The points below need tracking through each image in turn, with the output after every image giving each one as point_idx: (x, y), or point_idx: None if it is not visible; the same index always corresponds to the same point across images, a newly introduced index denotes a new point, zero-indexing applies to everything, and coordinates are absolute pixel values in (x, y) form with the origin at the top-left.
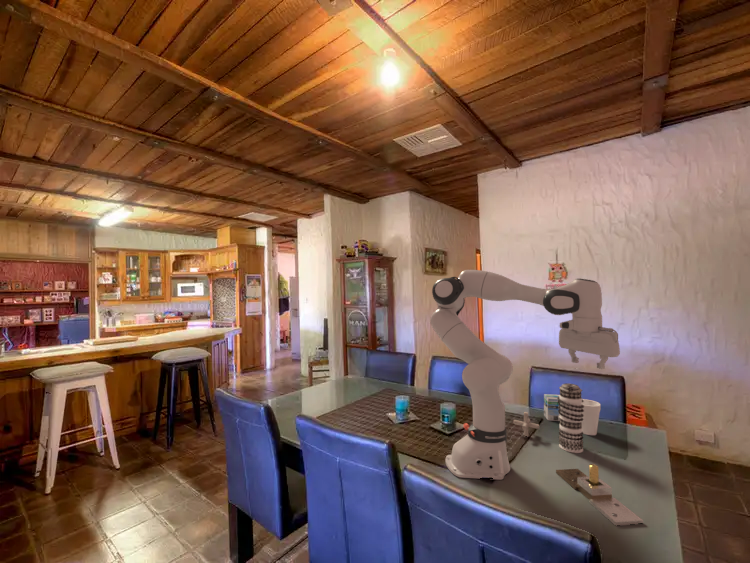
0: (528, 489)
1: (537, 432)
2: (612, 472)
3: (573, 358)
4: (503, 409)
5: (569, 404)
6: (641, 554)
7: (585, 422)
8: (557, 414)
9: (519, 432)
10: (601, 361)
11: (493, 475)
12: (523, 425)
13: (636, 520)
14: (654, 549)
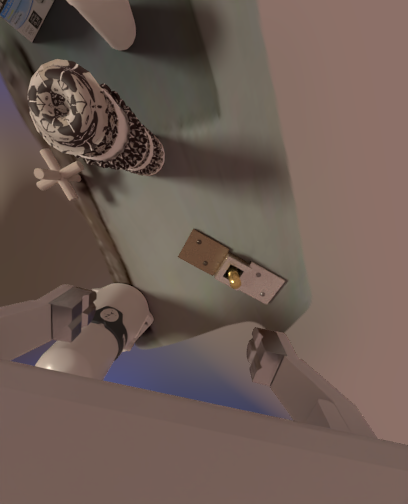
0: (181, 312)
1: None
2: (224, 187)
3: (60, 337)
4: (96, 373)
5: (113, 161)
6: (292, 322)
7: (110, 31)
8: (28, 6)
9: None
10: (296, 412)
11: (146, 327)
12: (68, 197)
13: (280, 286)
14: (299, 308)
